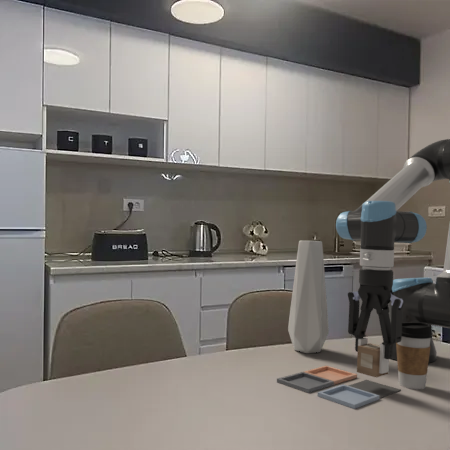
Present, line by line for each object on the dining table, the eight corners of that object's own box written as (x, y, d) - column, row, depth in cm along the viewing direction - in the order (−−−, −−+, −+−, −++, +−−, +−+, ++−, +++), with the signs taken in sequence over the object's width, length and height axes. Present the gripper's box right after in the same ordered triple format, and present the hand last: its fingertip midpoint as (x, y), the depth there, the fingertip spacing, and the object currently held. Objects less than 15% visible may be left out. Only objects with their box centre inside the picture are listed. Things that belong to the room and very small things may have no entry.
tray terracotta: (326, 370, 132) (326, 365, 132) (356, 379, 125) (357, 374, 125) (302, 376, 126) (302, 371, 126) (333, 386, 119) (334, 381, 119)
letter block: (369, 368, 120) (369, 342, 120) (388, 373, 116) (389, 347, 116) (356, 372, 117) (357, 345, 117) (375, 377, 113) (376, 350, 113)
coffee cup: (434, 394, 116) (436, 328, 116) (395, 390, 117) (397, 325, 117) (427, 382, 124) (429, 321, 124) (391, 379, 125) (392, 319, 125)
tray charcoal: (302, 376, 126) (302, 371, 126) (333, 386, 119) (333, 381, 119) (276, 383, 120) (276, 378, 120) (308, 394, 113) (308, 389, 113)
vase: (278, 349, 153) (281, 240, 153) (302, 343, 161) (305, 239, 160) (310, 358, 144) (313, 241, 144) (334, 351, 152) (337, 241, 151)
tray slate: (342, 389, 117) (343, 384, 117) (379, 400, 110) (379, 395, 110) (317, 397, 111) (317, 392, 111) (354, 410, 104) (354, 404, 104)
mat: (366, 382, 123) (366, 379, 123) (400, 392, 116) (400, 389, 116) (344, 389, 117) (344, 386, 117) (379, 400, 110) (379, 397, 110)
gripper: (334, 265, 121) (330, 363, 121) (404, 272, 107) (400, 382, 107) (352, 264, 126) (349, 358, 126) (421, 271, 112) (418, 376, 112)
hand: (372, 369), depth 116 cm, fingers closed on letter block, 5 cm apart
